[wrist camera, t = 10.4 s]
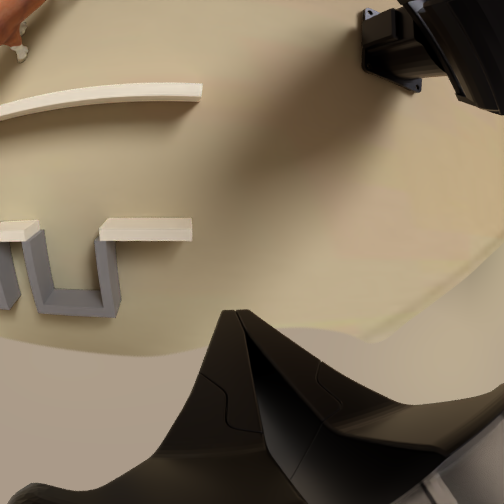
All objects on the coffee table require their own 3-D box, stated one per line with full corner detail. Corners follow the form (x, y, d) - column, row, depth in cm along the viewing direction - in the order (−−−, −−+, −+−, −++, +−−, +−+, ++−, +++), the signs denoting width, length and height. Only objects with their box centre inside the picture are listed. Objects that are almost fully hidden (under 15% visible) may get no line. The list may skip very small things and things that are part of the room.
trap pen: (200, 90, 16) (203, 82, 13) (190, 299, 22) (192, 322, 19) (-68, 136, 10) (-87, 140, 7) (-49, 287, 15) (-63, 301, 13)
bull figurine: (-23, 74, 10) (-83, 67, 3) (97, -44, 9) (73, -97, 2) (-5, 102, 12) (-72, 99, 4) (123, -24, 11) (102, -84, 3)
